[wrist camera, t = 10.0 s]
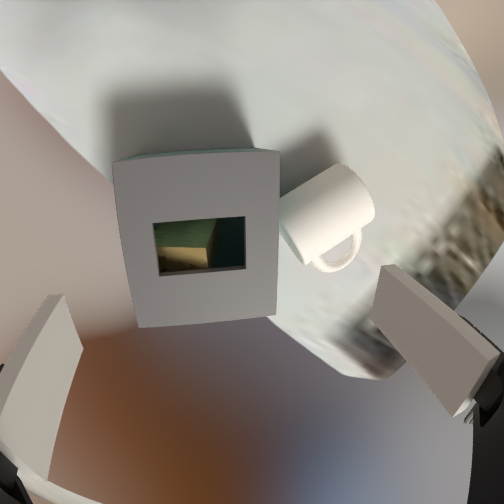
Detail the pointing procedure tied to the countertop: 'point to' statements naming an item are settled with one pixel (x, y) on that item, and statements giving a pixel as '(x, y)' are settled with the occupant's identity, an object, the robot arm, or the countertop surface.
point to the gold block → (187, 244)
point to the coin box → (192, 208)
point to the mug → (325, 216)
